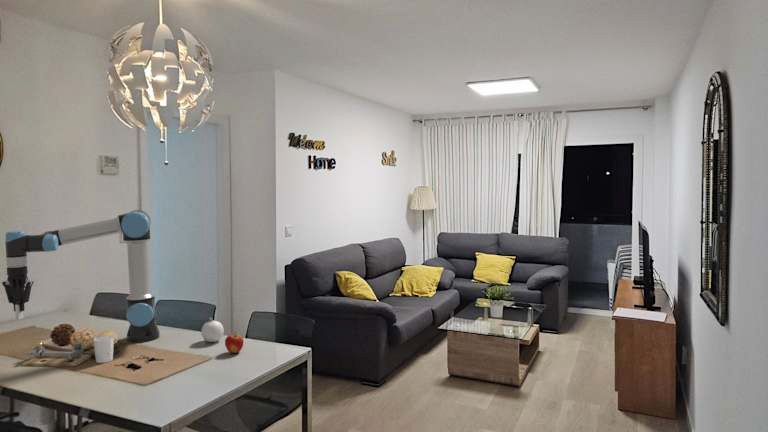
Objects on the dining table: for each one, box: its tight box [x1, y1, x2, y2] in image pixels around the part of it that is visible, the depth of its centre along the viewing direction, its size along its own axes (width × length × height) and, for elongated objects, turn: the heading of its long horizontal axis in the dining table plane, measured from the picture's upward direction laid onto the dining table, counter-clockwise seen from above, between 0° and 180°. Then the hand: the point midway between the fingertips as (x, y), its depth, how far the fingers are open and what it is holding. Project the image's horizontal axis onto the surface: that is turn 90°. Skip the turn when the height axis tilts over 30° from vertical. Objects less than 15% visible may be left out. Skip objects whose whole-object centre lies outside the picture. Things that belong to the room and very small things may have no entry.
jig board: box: [22, 354, 91, 367], centre depth 237 cm, size 23×12×1 cm, turn 87°
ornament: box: [201, 317, 225, 343], centre depth 265 cm, size 10×10×12 cm
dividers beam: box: [40, 342, 85, 361], centre depth 238 cm, size 20×8×6 cm, turn 87°
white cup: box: [93, 335, 115, 364], centre depth 238 cm, size 8×8×10 cm
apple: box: [224, 331, 244, 354], centre depth 248 cm, size 8×8×10 cm
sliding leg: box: [26, 341, 46, 360], centre depth 238 cm, size 3×8×6 cm, turn 177°
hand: (19, 318), depth 240 cm, fingers closed
